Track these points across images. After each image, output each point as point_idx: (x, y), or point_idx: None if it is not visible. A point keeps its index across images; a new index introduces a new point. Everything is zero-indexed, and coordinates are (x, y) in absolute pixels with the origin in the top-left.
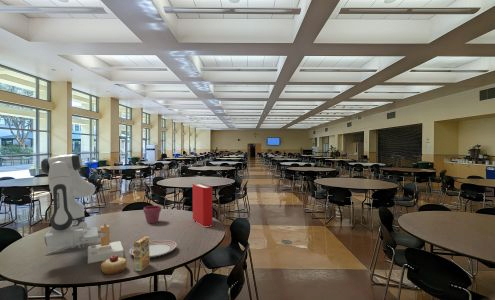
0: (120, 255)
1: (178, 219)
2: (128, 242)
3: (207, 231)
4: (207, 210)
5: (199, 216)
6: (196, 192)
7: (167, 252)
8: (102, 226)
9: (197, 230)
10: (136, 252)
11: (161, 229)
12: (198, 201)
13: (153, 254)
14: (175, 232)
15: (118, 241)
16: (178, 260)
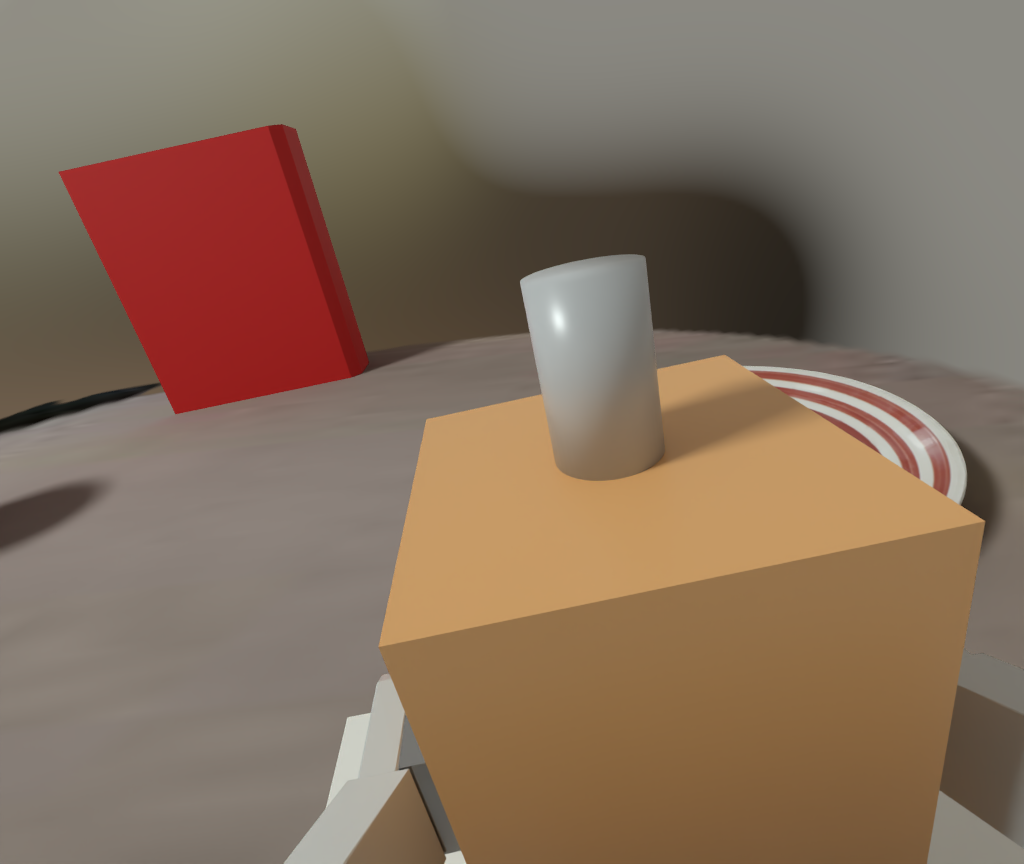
0: None
1: (70, 457)
2: (257, 701)
3: (431, 362)
4: (335, 276)
5: (276, 342)
6: (164, 207)
7: (833, 381)
8: (609, 524)
9: (381, 384)
10: None
11: (163, 502)
12: (224, 255)
13: None
14: (322, 440)
15: (348, 744)
16: (902, 375)
